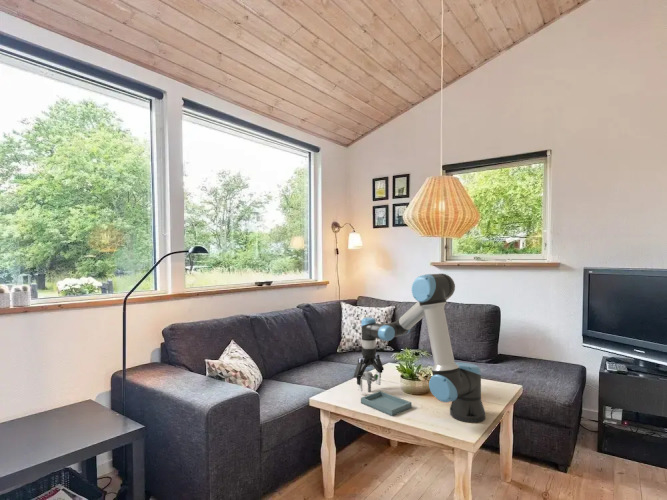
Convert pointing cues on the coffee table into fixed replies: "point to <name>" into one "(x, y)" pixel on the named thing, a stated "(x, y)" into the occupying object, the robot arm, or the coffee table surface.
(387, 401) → the parts tray
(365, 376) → the mechanical component
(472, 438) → the coffee table surface
